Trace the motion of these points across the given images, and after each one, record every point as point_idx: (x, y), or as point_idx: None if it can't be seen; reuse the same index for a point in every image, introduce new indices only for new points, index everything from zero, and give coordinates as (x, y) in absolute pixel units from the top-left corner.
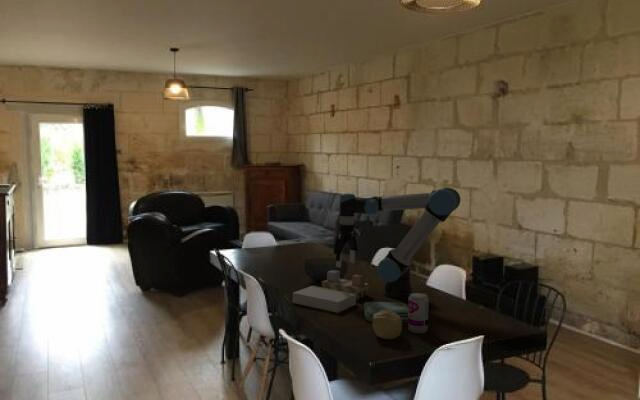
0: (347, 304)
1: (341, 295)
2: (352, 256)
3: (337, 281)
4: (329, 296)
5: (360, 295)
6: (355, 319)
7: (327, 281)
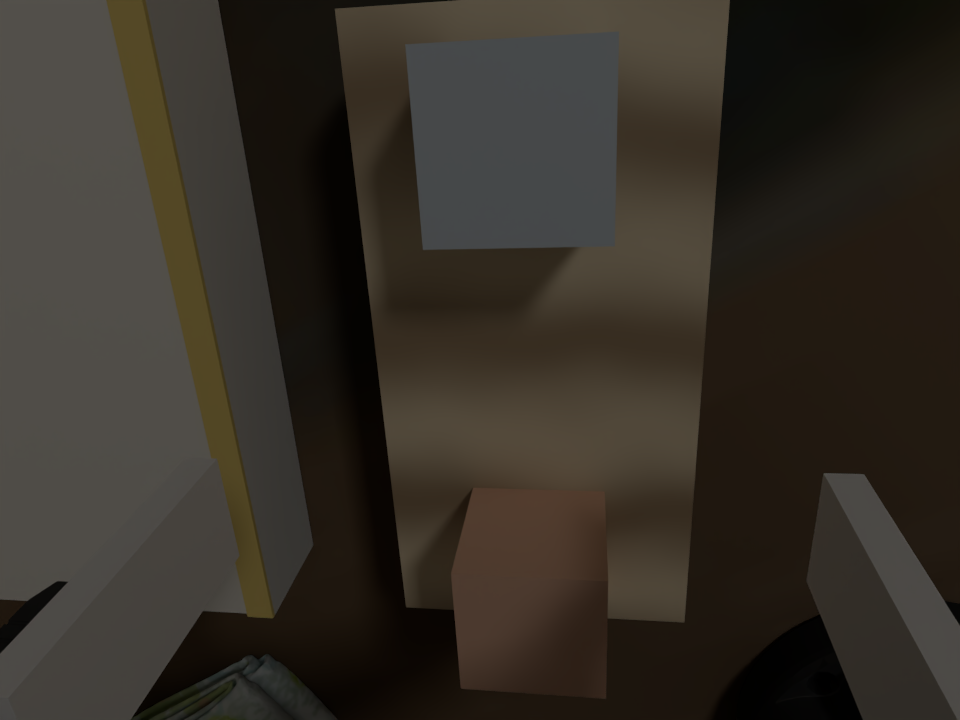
0: None
1: None
2: (870, 665)
3: None
4: (4, 449)
5: None
6: None
7: (404, 86)
